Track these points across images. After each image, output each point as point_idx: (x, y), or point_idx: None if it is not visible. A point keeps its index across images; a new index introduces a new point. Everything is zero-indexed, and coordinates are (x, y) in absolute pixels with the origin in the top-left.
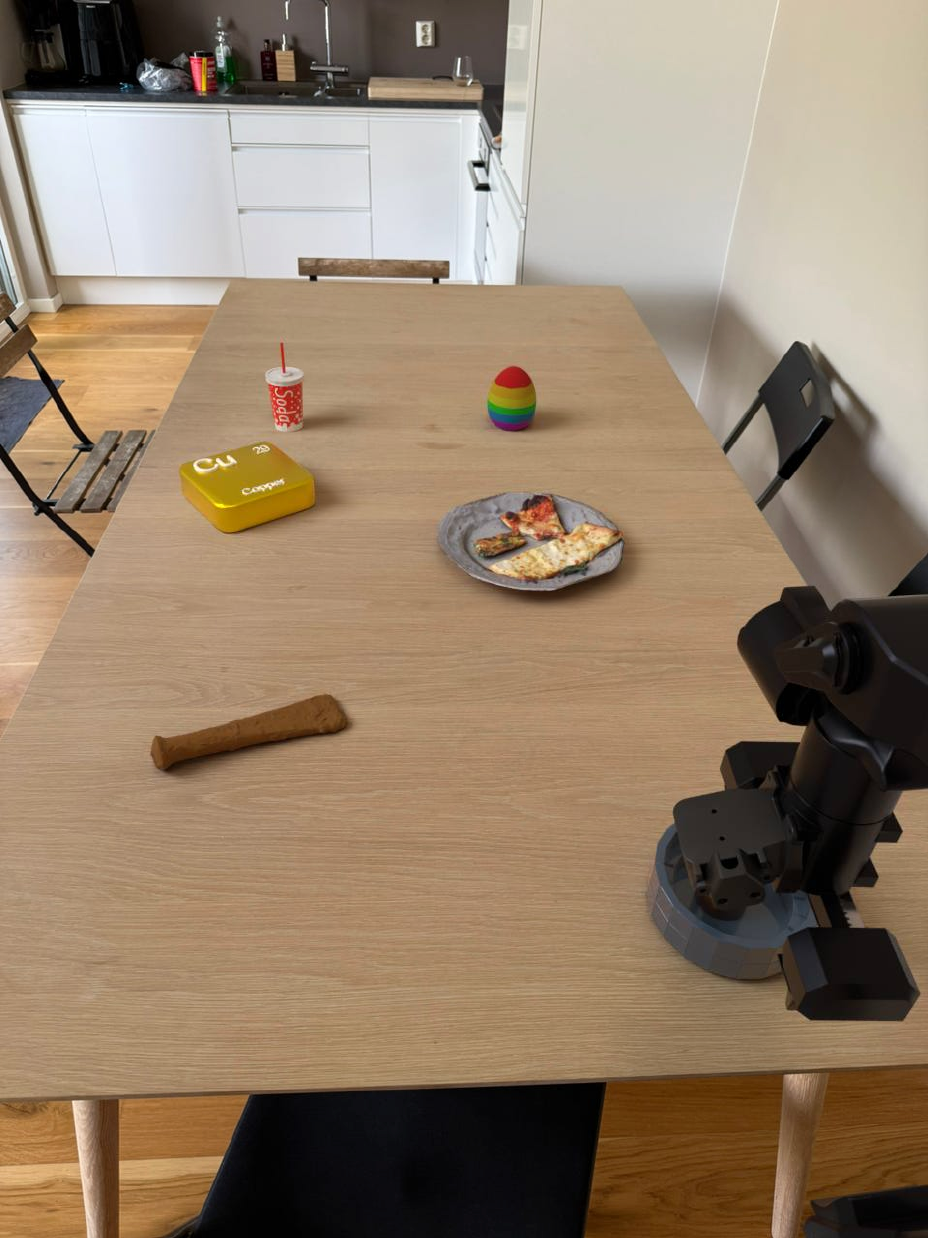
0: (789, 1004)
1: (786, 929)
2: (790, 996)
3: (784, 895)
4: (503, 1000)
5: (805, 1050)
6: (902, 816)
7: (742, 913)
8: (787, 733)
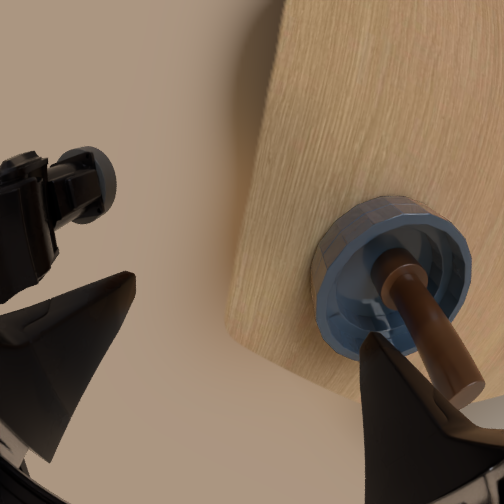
0: (101, 279)
1: (338, 310)
2: (87, 290)
3: (369, 321)
4: (357, 21)
5: (243, 266)
6: None
7: (372, 281)
8: None
